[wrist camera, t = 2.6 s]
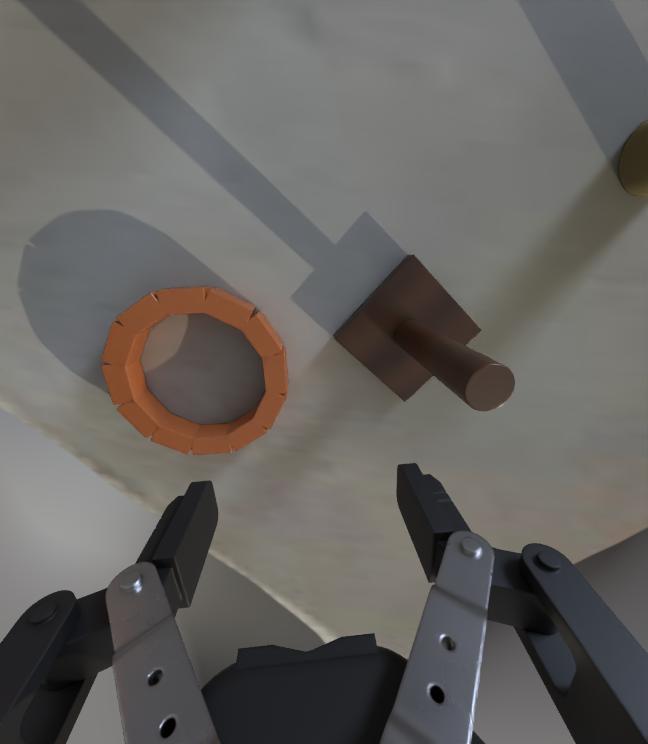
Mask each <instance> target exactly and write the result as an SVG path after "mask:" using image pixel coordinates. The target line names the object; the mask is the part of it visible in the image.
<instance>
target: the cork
mask: <svg viewBox="0 0 648 744" xmlns="http://www.w3.org/2000/svg"><path fill="white" fill-rule="evenodd" d="M619 176H620V180H621V183H622V185H623V186H624V188H625V189H626V191H628V192H629V193H631V194H633V195H636V196H647V195H648V120H647V121H645V122H643V123H642V124H641V125H640V126H639V127H638V128H637V129H636V130H635V131H634V132H633V133H632V134H631V136H630V138H629V139H628V141H627V143H626V144H625V146H624V149H623V151H622V154H621V157H620V163H619Z"/></svg>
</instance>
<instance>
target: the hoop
mask: <svg viewBox="0 0 648 744" xmlns="http://www.w3.org/2000/svg"><path fill="white" fill-rule="evenodd" d="M255 309H256V306H254V305H252V304H250V303H248V302H246V301H244V300H242V299H240V298H238V297H236V296H234V295H232V294H230V293H228V292H226V291H224V290H222V289H220V288H218V287H217V288H213V289H212V286H201V287H180V288H167V289H162V290H157V291H156V292H151V293H149V294H148V295H146V296H145V297H143V298H142V299H141V300H139V301H138V302H137V303H135V304H134V305H132V306H131V307H130V308H128V309H127V310H126V311H124V312H123V313H121V314H120V315H119V316H117V317H116V318H117V320H118V321H115V322H113V323H112V326H111V329H110V332H109V336H108V339H107V342H106V346H105V349H104V352H103V355H102V359H101V361H103V362H106V364H104V365H102V366H101V367H102V370H103V374H104V377H105V380H106V383H107V386H108V390H109V393H110V396H111V399H112V402H113V404H122V405H121V406H119V407H118V408H117V410H118V411H119V412H120V413H121V414H122V415H123V416H124V417H125V418H126V419H127V420H128V421H129V422H130V423H131V424H132V425H133V426H134V427H135V428H136V429H137V430H138V431H139V432H140V433H141V434H142V435H143V436H144V437H145V438H147V437H148V436H150V435H151V434H153V435H152V438H151V441H152V442H155V443H158V444H161V445H163V446H166V447H169V448H172V449H174V450H177V451H180V452H183V453H185V454H189V453H190V451H191V450H193V455H205V454H218V453H231V452H232V450H233V448H234V449H235V450H236V451H237V450H239V449H240V448H242V447H244V446H245V445H247V444H249V443H250V442H252V441H253V440H255V439H257V438H258V437H260V436H262V435H263V434H265V433H267V429H268V428H269V429H271V427H272V425H273V423H274V421H275V419H276V417H277V415H278V413H279V411H280V409H281V408H282V406H283V404H284V402H285V400H286V398H287V393H288V384H289V381H288V369H287V358H286V348H285V347H284V348H282V347H283V341H282V340H281V338H280V337H279V336H278V334H277V333H276V331H275V330H274V329H273V327H272V326H271V324H270V323H269V321H268V320H267V319H266V317H265V316H264V314H263V313H262V312H261V311H258V312H257V313H255V314H254V315H253V313H254V311H255ZM189 313H206V314H208V315H210V316H212V317H214V318H216V319H218V320H221V321H223V322H225V323H227V324H229V325H231V326H233V327H235V328H238V329H240V330H241V332H242V333H243V334H244V335H245V337H246V338H247V339H248V341H249V342H250V343H251V345H252V346H253V347H254V349H255V350H256V351H257V353H258V354H259V355H260V357H261V358H262V362H263V370H264V379H265V387H266V389H265V391H264V393H263V395H262V397H261V399H260V401H259V403H258V405H257V407H256V408H255V409H253V410H251V411H250V412H248V413H247V414H245V415H243V416H242V417H240V418H239V419H237V420H235V421H234V422H232V423H223V424H209V425H199V424H197V423H194V422H192V421H189V420H186V419H184V418H181V417H179V416H176V415H173V414H171V413H170V412H169V411H168V410H167V409H166V408H165V407H164V406H163V405H162V404H161V403H160V402H159V401H158V400H157V399H156V398H155V396H154V395H153V394H152V393H151V392H150V391H149V390H148V388H147V384H146V381H145V377H144V373H143V369H142V365H141V362H140V357H141V354H142V351H143V348H144V345H145V342H146V339H147V336H148V333H149V330H150V329H151V328H152V327H154V326H155V325H157V324H158V323H160V322H161V321H162V320H164V319H165V318H167V317H168V316H169V315H171V314H189Z"/></svg>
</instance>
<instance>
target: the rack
mask: <svg viewBox="0 0 648 744" xmlns="http://www.w3.org/2000/svg"><path fill="white" fill-rule="evenodd" d="M480 331H481V329H480V328H479V327H478V326H477V325H476V324H475V323H474V322H473V320H472V319H471V318H470V317H469V316H468V315H467V314H466V313H465V311H464V310H463V309H462V308H461V307H460V306H459V305H458V304H457V303H456V301H455V300H454V299H453V298H452V297H451V296H450V295H449V294H448V292H447V291H446V290H445V289H444V288H443V287H442V286H441V285H440V284H439V282H438V281H437V280H436V279H435V278H434V277H433V276H432V275H431V273H430V272H429V271H428V270H427V269H426V268H425V267H424V266H423V264H422V263H421V262H420V261H419V260H418V259H417V258H416V257H415V256H414V255H407V257H406V258H405V259H404V260H403V261H402V262H401V263H400V264H399V265H398V266H397V267H396V268H395V269H394V271H393V272H392V273H391V274H390V275H389V276H388V277H387V278H386V279H385V280H384V281H383V282H382V283H381V285H380V286H379V287H378V288H377V289H376V290H375V291H374V292H373V293H372V294H371V295H370V296H369V297H368V298H367V300H366V301H365V302H364V303H363V304H362V305H361V306H360V307H359V308H358V309H357V310H356V311H355V312H354V314H353V315H352V316H351V317H350V318H349V319H348V320H347V321H346V322H345V323H344V324H343V325H342V326H341V328H340V329H339V330H338V331H337V332H336V333H335V334H334V335H333V336H334V338H335V340H337V341H338V342H339V343H340V344H341V345H342V346H343V347H344V348H345V349H347V350H348V351H349V352H350V353H351V354H352V355H353V356H354V357H356V358H357V359H358V360H359V361H360V362H361V363H362V364H363V365H364V366H366V367H367V368H368V369H369V370H370V371H371V372H372V373H373V374H374V375H376V376H377V377H378V378H379V379H380V380H381V381H382V382H383V383H384V384H386V385H387V386H388V387H389V388H390V389H391V390H392V391H393V392H395V393H396V394H397V395H398V396H399V397H400V398H401V399H402V400H403V401H405V402H406V401H407V400H408V399H409V398H410V397H411V396H412V395H413V394H414V393H415V392H416V391H417V390H418V389H419V388H421V387H422V386H423V385H424V384H425V383H426V382H427V381H428V380H429V379H430V378H431V377H432V376H433V375H434V376H435V377H436V378H437V379H438V380H440V381H441V382H442V383H443V384H444V385H445V386H447V387H448V388H449V389H450V390H451V391H452V392H454V393H455V394H456V395H457V396H458V397H459V398H461V399H462V400H463V401H464V402H465V403H466V404H468V405H469V406H470V407H471V408H473V409H475V410H478V411H490V410H494V409H496V408H498V407H500V406H502V405H503V404H504V403H505V402H506V401H507V400H508V399H509V398H510V396H511V394H512V393H513V390H514V386H515V380H514V376H513V374H512V372H511V370H510V369H509V368H508V367H506V366H504V365H502V364H500V363H498V362H496V361H494V360H493V359H491V358H489V357H487V356H485V355H483V354H481V353H479V352H477V351H475V350H473V349H471V348H469V347H467V346H465V345H466V344H467V343H468V342H470V341H471V340H472V339H473V338H474V337H475V336H476V335H477V334H478V333H479V332H480Z"/></svg>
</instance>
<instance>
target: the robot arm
mask: <svg viewBox="0 0 648 744" xmlns="http://www.w3.org/2000/svg"><path fill="white" fill-rule="evenodd" d="M397 502H398V506H399V509H400V512H401V514H402V517H403V519H404V522H405V524H406V527H407V529H408V532H409V534H410V537H411V539H412V542H413V544H414V547H415V549H416V552H417V554H418V557H419V559H420V562H421V564H422V567H423V569H424V572H425V574H426V577H427V579H428V582H429V583H432V582H435V585H432V587H431V589H430V592H429V595H428V598H427V601H426V605H425V608H424V611H423V614H422V617H421V621H420V624H419V627H418V630H417V633H416V637H415V640H414V643H413V646H412V649H411V653H410V656H409V659H408V660H407V659H405V658H404V657H402V656H401V655H399V654H397V653H396V652H394V651H392V650H389V649H387V648H384V647H380V646H377V645H376V640H375V634H374V633H373V634H364V635H355V636H346V637H340V638H338V639H336V640H334V641H331V642H329V643H327V644H325V645H322V646H320V647H318V648H316V649H314V650H311V651H308V652H304V651H299V650H294V649H290V648H285V647H280V646H275V645H267V646H259V647H250V648H241V649H238V656H237V662H236V663H234V664H232V665H230V666H229V667H227V668H225V669H224V670H222V671H221V672H219V673H218V674H217V675H215V676H214V677H213V678H212V679H211V680H210V681H209V682H208V683H207V684H206V685H205V686H204V687H203V688H202V689H200V687H199V684H198V681H197V678H196V675H195V673H194V670H193V667H192V664H191V662H190V659H189V656H188V653H187V651H186V648H185V645H184V642H183V640H182V637H181V634H180V632H179V629H178V626H177V624H176V621H175V616H176V613H177V610H178V608H187V607H190V605H191V602H192V599H193V596H194V593H195V590H196V587H197V584H198V581H199V578H200V575H201V572H202V569H203V565H204V563H205V559H206V556H207V553H208V550H209V547H210V544H211V541H212V538H213V535H214V532H215V529H216V526H217V522H218V507H217V502H216V498H215V493H214V489H213V484H212V482H211V481H200V482H192V483H191V484H190V485H189V487H188V489H187V491H186V493H185V495H184V496H178V497H177V498H176V499H174V500H173V501H172V502H171V503H170V504H169V505H168V506H167V508H166V510H165V511H164V513H163V515H162V517H161V519H160V520H159V522H158V524H157V526H156V529H154V531H153V533H152V535H151V537H150V538H149V540H148V542H147V544H146V545H145V547H144V549H143V551H142V553H141V554H140V556H139V558H138V560H137V562H136V563H135V564H134V565H132V566H130V567H128V568H126V569H125V570H123V571H122V572H120V573H119V574H118V575H117V576H116V577H115V578H114V579H113V580H112V582H111V583H110V585H109V586H108V588H106V589H103V590H101V591H98V592H95V593H93V594H90V595H87V596H85V597H82V598H79V599H76V597H75V595H74V593H73V592H71V591H68V590H62V591H57V592H54V593H52V594H50V595H48V596H46V597H44V598H42V599H41V600H39V601H37V602H36V603H35V604H33V605H32V606H31V607H30V608H29V609H28V610H26V611H25V613H23V615H22V616H21V617H20V618H19V620H18V621H17V622H16V623H15V625H14V626H13V627H12V629H11V630H10V632H9V633H8V634H7V636H6V637H5V638H4V639H3V641H2V642H1V643H0V744H66V742H67V740H68V738H69V735H70V733H71V731H72V729H73V727H74V724H75V722H76V720H77V718H78V716H79V714H80V711H81V709H82V707H83V705H84V703H85V700H86V698H87V696H88V694H89V691H90V689H91V687H92V685H93V683H94V680H95V678H96V676H97V674H98V672H100V671H103V670H105V669H107V668H108V667H111V666H113V672H114V678H115V685H116V691H117V697H118V703H119V710H120V716H121V722H122V728H123V735H124V740H125V744H485V743H484V742H483V741H482V740H481V739H480V738H479V736H478V735H477V734H476V733H475V732H474V731H473V723H474V716H475V708H476V701H477V693H478V686H479V678H480V669H481V663H482V655H483V648H484V639H485V632H486V624H487V620H491V621H495V622H499V623H503V624H507V625H511V626H514V628H515V630H516V632H517V634H518V636H519V637H520V639H521V641H522V643H523V645H524V647H525V649H526V651H527V653H528V654H529V656H530V658H531V660H532V662H533V664H534V666H535V668H536V669H537V671H538V673H539V675H540V677H541V679H542V681H543V683H544V685H545V686H546V688H547V690H548V692H549V694H550V696H551V698H552V700H553V702H554V703H555V705H556V707H557V709H558V711H559V713H560V715H561V717H562V719H563V720H564V722H565V724H566V726H567V728H568V730H569V732H570V734H571V736H572V737H573V739H574V741H575V743H576V744H648V654H647V652H645V650H644V649H643V648H642V646H641V645H640V644H639V643H638V642H637V640H636V639H635V638H634V637H633V636H632V634H631V633H630V632H629V631H628V630H627V629H626V627H625V626H624V625H623V624H622V623H621V621H620V620H619V619H618V618H617V617H616V615H615V614H614V613H613V612H612V611H611V609H610V608H609V607H608V606H607V605H606V604H605V602H604V601H603V600H602V599H601V597H600V596H599V595H598V594H597V593H596V591H595V590H594V589H593V588H592V587H591V585H589V583H588V582H587V581H586V580H585V578H584V577H583V576H582V575H581V574H580V572H579V571H578V570H577V569H576V568H575V567H574V565H573V564H572V563H571V562H570V561H569V559H568V558H566V557H565V556H564V555H563V554H562V553H560V552H559V551H557V550H555V549H553V548H551V547H549V546H546V545H543V544H537V543H532V544H528V545H526V546H525V547H524V548H523V550H522V553H521V554H520V553H515V552H510V551H504V550H500V549H496V548H493V547H491V545H490V544H489V543H488V542H487V541H486V540H485V539H484V538H483V537H481V536H479V535H478V534H475V533H473V532H471V530H470V529H469V527H468V525H467V524H466V522H465V521H464V519H463V517H462V516H461V514H460V513H459V511H458V510H457V508H456V506H455V505H454V503H453V502H452V501H451V499H450V497H449V495H448V494H446V491H445V489H444V488H443V486H442V484H441V483H440V482H439V481H438V480H437V479H435V478H434V477H433V476H432V475H430V474H427V475H423V474H422V472H421V470H420V469H419V467H418V465H417V464H416V463H411V464H399V465H398V468H397Z"/></svg>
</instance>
